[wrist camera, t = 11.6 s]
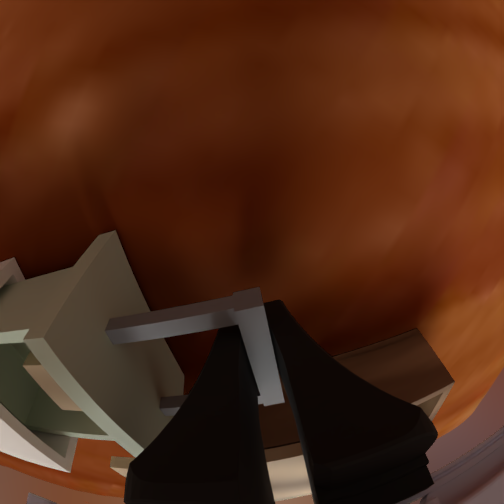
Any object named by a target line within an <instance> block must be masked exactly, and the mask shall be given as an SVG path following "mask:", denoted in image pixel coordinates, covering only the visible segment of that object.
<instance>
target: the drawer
mask: <svg viewBox="0 0 504 504" xmlns="http://www.w3.org/2000/svg"><path fill="white" fill-rule="evenodd" d="M233 325H239V329H240V332H241V335H242V338H243V342H244V345H245V348H246V351H247V355H248V358H249V361H250V364H251V367H252V370H253V374H254V377H255V380H256V383H257V392H258V404H264V406H269V405H274V404H279V403H283V402H284V397H283V392H282V388H281V383H280V378H279V374H278V369H277V364H276V360H275V355H274V350H273V346H272V341H271V336H270V332H269V327H268V322H267V318H266V313H265V308H264V304H263V300H262V295H261V291H260V287H256V288H252V289H247V290H242V291H238V292H233V296H228V297H223V298H219V299H214V300H209V301H204V302H199V303H194V304H189V305H183V306H178V307H173V308H167V309H162V310H157V311H150V309H149V307H148V305H147V303H146V301H145V299H144V297H143V295H142V292H141V290H140V288H139V286H138V283H137V281H136V279H135V277H134V274H133V272H132V270H131V267H130V265H129V263H128V260H127V258H126V255H125V253H124V250H123V248H122V245H121V243H120V240H119V238H118V235H117V233H116V230H114V231H111V232H108V233H104V234H101V235H98V237H97V238H96V239H95V240H94V241H93V243H92V244H91V245H90V246H89V247H88V249H87V250H86V251H85V252H84V254H83V255H82V256H81V257H80V259H79V260H78V261H77V262H76V264H75V265H74V266H73V267H70V268H67V269H63V270H59V271H56V272H52V273H48V274H45V275H41V276H38V277H34V278H31V279H27V280H24V281H20V282H17V283H13V284H10V285H6V286H3V287H1V288H0V403H1V404H2V405H3V406H4V407H5V408H6V409H7V410H8V411H9V412H10V413H11V414H12V415H13V416H14V417H15V418H16V419H17V420H18V421H19V422H21V423H22V424H23V425H24V426H25V427H26V428H27V429H30V430H35V431H40V432H45V433H51V434H57V435H63V436H70V437H78V438H88V439H99V440H113V441H116V442H117V443H118V444H119V445H121V446H122V447H123V448H124V449H126V450H127V451H128V452H129V453H131V454H132V455H133V456H134V457H137V456H138V455H139V454H140V453H141V452H142V451H143V450H144V449H145V448H146V447H147V446H148V445H149V444H150V443H151V442H152V441H153V440H154V439H155V438H156V437H157V436H158V435H159V433H160V432H161V431H162V430H163V429H164V428H165V426H166V425H167V424H168V423H169V422H170V420H171V419H172V418H173V416H174V415H175V414H176V412H177V411H178V410H179V408H180V407H181V405H182V404H183V402H184V401H185V399H186V398H187V396H188V395H183V391H184V374H183V372H182V370H181V369H180V367H179V365H178V363H177V362H176V360H175V358H174V356H173V354H172V352H171V351H170V349H169V347H168V345H167V343H166V341H165V339H164V338H165V337H171V336H177V335H184V334H189V333H195V332H201V331H206V330H212V329H217V328H222V327H228V326H233ZM30 350H31V352H32V353H33V354H34V356H35V357H36V358H37V360H38V361H39V362H40V363H41V365H42V366H43V367H44V368H45V370H46V371H47V372H48V373H49V375H50V376H51V377H52V378H53V379H54V380H55V382H56V383H57V384H58V385H59V386H60V387H61V388H62V390H63V391H64V392H65V393H66V394H67V395H68V396H69V397H70V398H71V399H72V400H73V401H74V403H75V404H76V405H77V406H78V407H79V408H80V409H81V410H82V411H72V410H62V409H61V408H60V407H59V406H58V405H57V404H56V403H55V402H54V401H53V400H52V399H51V398H50V397H49V395H48V394H47V393H46V392H45V391H44V390H43V389H42V388H41V387H40V386H39V384H38V383H37V382H36V381H35V380H34V379H33V378H32V376H31V375H30V374H29V373H28V372H27V370H26V369H25V368H24V367H23V363H24V362H25V360H26V358H27V356H28V354H29V352H30Z"/></svg>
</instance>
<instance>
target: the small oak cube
mask: <svg viewBox="0 0 504 504" xmlns="http://www.w3.org/2000/svg"><path fill="white" fill-rule="evenodd" d="M23 367H24V368H25V369H26V370H27V372H28V373H29V374H30V375H31V376H32V378H33V379H34V380H35V381H36V382H37V383H38V384H39V386H40V387H41V388H42V389H43V390H44V391H45V392H46V393H47V394H48V395H49V397H50V398H51V399H52V400H53V401H54V402H55V403H56V404H57V405H58V406H59V407H60V408H61V409H62V410H72V411H82V410H81V409H80V408H79V407H78V406H77V405H76V404H75V403H74V401H73V400H72V399H71V398H70V397H69V396H68V395H67V394H66V393H65V392H64V391H63V390H62V388H61V387H60V386H59V385H58V384H57V383H56V382H55V380H54V379H53V378H52V377H51V376H50V375H49V373H48V372H47V371H46V370H45V368H44V367H43V366H42V365H41V363H40V362H39V361H38V360H37V358H36V357H35V356H34V354H33V353H32V352H31V350H30V352H29V354H28V356H27V358H26V360H25V362H24V363H23Z"/></svg>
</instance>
